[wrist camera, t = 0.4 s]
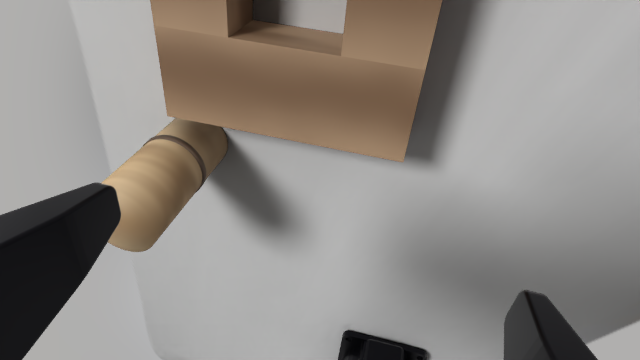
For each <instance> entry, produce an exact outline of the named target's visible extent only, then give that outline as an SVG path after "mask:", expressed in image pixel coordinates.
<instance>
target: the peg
mask: <svg viewBox="0 0 640 360" xmlns="http://www.w3.org/2000/svg"><path fill="white" fill-rule="evenodd" d="M227 149H228V141H227V137H226V134H225V132H224V130H223V129H222V127H221V126H216V125H211V124H205V123H200V122H195V121H190V120H185V119H180V118H175V119H174V120H173V121H172V122H171V123H170V124H168V125H167V126H166V127H165V128H164V129H163V130H162V131H160V132H159V133H158V134H157V135H156V136H155V137H153V138H151V139H150V140H149V141H147V142H146V143H145V144H144V145H143V147H142V148H141V149H140V150H139V151H137V152H136V153H135V154H134V155H133V156H132V157H131V158H129V159H128V160H127V161H126V162H125V163H124V164H122V165H121V166H120V167H119V168H118V169H117V170H116V171H114V172H113V173H112V174H111V175H110V176H109V177H108V178H106V179H105V180H104V181H103V182H102V184H106V185H110V186H112V187H114V188H115V190H116V192H117V197H118V201H119V206H120V210H121V219H120V222H119V224H118V226H117V228H116V229H115V231H114V232H113V234H112V236H111V237H110V239H109V241H108V243H110V244H112V245H114V246H116V247H118V248H120V249H123V250H127V251H132V252H141V251H145V250H148V249H150V248H151V247H152V246H153V244H154V243H155V242H156V241H157V240H158V238H159V237H160V236H161V235H162V233H163V232H164V231H165V230H166V228H167V227H168V226H169V225H170V223H171V222H172V221H173V220H174V218H175V217H176V216H177V215H178V213H179V212H180V211H181V210H182V208H183V207H184V206H185V205H186V203H187V202H188V201H189V200H190V199H191V197H192V196H193V195H194V194H195V193H196V192H197V191H198V190H199V189H200V188H201V186H202V185H203V184H204V182H205V180H206V179H207V177H208V176H209V175H210V174H211V172H212V171H213V170H214V169H215V167H216V166H217V165H218V164H219V162H220V161H221V160H222V159H223V158H224V156H225V155H226V153H227Z"/></svg>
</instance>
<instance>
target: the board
mask: <svg viewBox="0 0 640 360" xmlns="http://www.w3.org/2000/svg"><path fill="white" fill-rule="evenodd" d="M150 2H151V9H152V15H153V22H154V29H155V35H156V42H157V49H158V55H159V62H160V69H161V76H162V82H163V89H164V96H165V102H166V109H167V116H170V117H175V118H180V119H185V120H190V121H195V122H200V123H205V124H211V125H216V126H221V127H226V128H231V129H236V130H241V131H246V132H251V133H256V134H261V135H266V136H272V137H277V138H282V139H287V140H292V141H297V142H302V143H307V144H312V145H317V146H322V147H327V148H333V149H338V150H343V151H348V152H353V153H358V154H363V155H368V156H373V157H378V158H383V159H388V160H394V161H399V162H403V161H404V157H405V153H406V149H407V145H408V140H409V136H410V132H411V128H412V124H413V120H414V116H415V112H416V107H417V103H418V99H419V95H420V91H421V87H422V83H423V78H424V74H425V70H426V66H427V62H428V58H429V54H430V50H431V45H432V41H433V37H434V33H435V29H436V25H437V21H438V16H439V12H440V8H441V4H442V0H347V7H346V16H345V25H344V33H343V34H339V33H333V32H327V31H320V30H314V29H307V28H301V27H295V26H288V25H282V24H276V23H269V22H263V21H256V20H253V0H150Z"/></svg>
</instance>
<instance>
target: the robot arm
mask: <svg viewBox="0 0 640 360" xmlns="http://www.w3.org/2000/svg"><path fill="white" fill-rule="evenodd" d="M120 219H121V210H120V206H119V201H118V197H117V192H116V190H115V188H114V187H112V186H110V185H106V184H102V183H92V184H89V185H86V186H84V187H80V188H78V189H75V190H72V191H69V192H66V193H63V194H60V195H57V196H54V197H51V198H49V199H46V200H43V201H40V202H37V203H34V204H31V205H28V206H25V207H22V208H20V209H17V210H14V211H11V212H8V213H5V214H2V215H0V360H22V359H23V358H24V356H25V355H26V354H27V353H28V351H29V350H30V349H31V347H32V346H33V345H34V344H35V342H36V341H37V340H38V338H39V337H40V336H41V334H42V333H43V332H44V331H45V329H46V328H47V327H48V325H49V324H50V323H51V322H52V320H53V319H54V318H55V316H56V315H57V314H58V313H59V311H60V310H61V309H62V307H63V306H64V305H65V303H66V302H67V301H68V300H69V298H70V297H71V295H72V294H73V293H74V292H75V291H76V289H77V288H78V287H79V285H80V284H81V283H82V281H83V280H84V278H85V277H86V275H87V274H88V272H89V271H90V269H91V268H92V266H93V265H94V263H95V261H96V260H97V258H98V257H99V255H100V253H101V252H102V250H103V249H104V247H105V245H106V244H107V242H108V241H109V239H110V237H111V236H112V234H113V232H114V231H115V229H116V228H117V226H118V224H119V222H120ZM426 358H427V353H426V352H425V351H424V350H421V349H417V348H413V347H409V346H406V345H402V344H398V343H394V342H390V341H386V340H382V339H378V338H375V337H371V336H367V335H363V334H359V333H355V332H351V331H345V332H344V333H343V337H342V342H341V347H340V352H339V357H338V360H426ZM504 360H598V359H597V358H596V357H595V356H594V354H593V353H592V352H591V351H590V350H589V348H588V347H587V346H586V345H585V343H584V342H583V341H582V340H581V338H580V337H579V336H578V335H577V333H576V332H575V331H574V330H573V328H572V327H571V326H570V325H569V324H568V322H567V321H566V320H565V319H564V317H563V316H562V315H561V314H560V312H559V311H558V310H557V309H556V307H555V306H554V305H553V304H552V303H551V301H550V300H549V299H548V298H547V297H546V296H545V295H543V294H541V293H537V292H533V291H529V290H523V291H521V292H520V293H519V295H518V296H517V298H516V300H515V301H514V303H513V305H512V306H511V308H510V310H509V311H508V313H507V315H506V318H505V323H504Z"/></svg>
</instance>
